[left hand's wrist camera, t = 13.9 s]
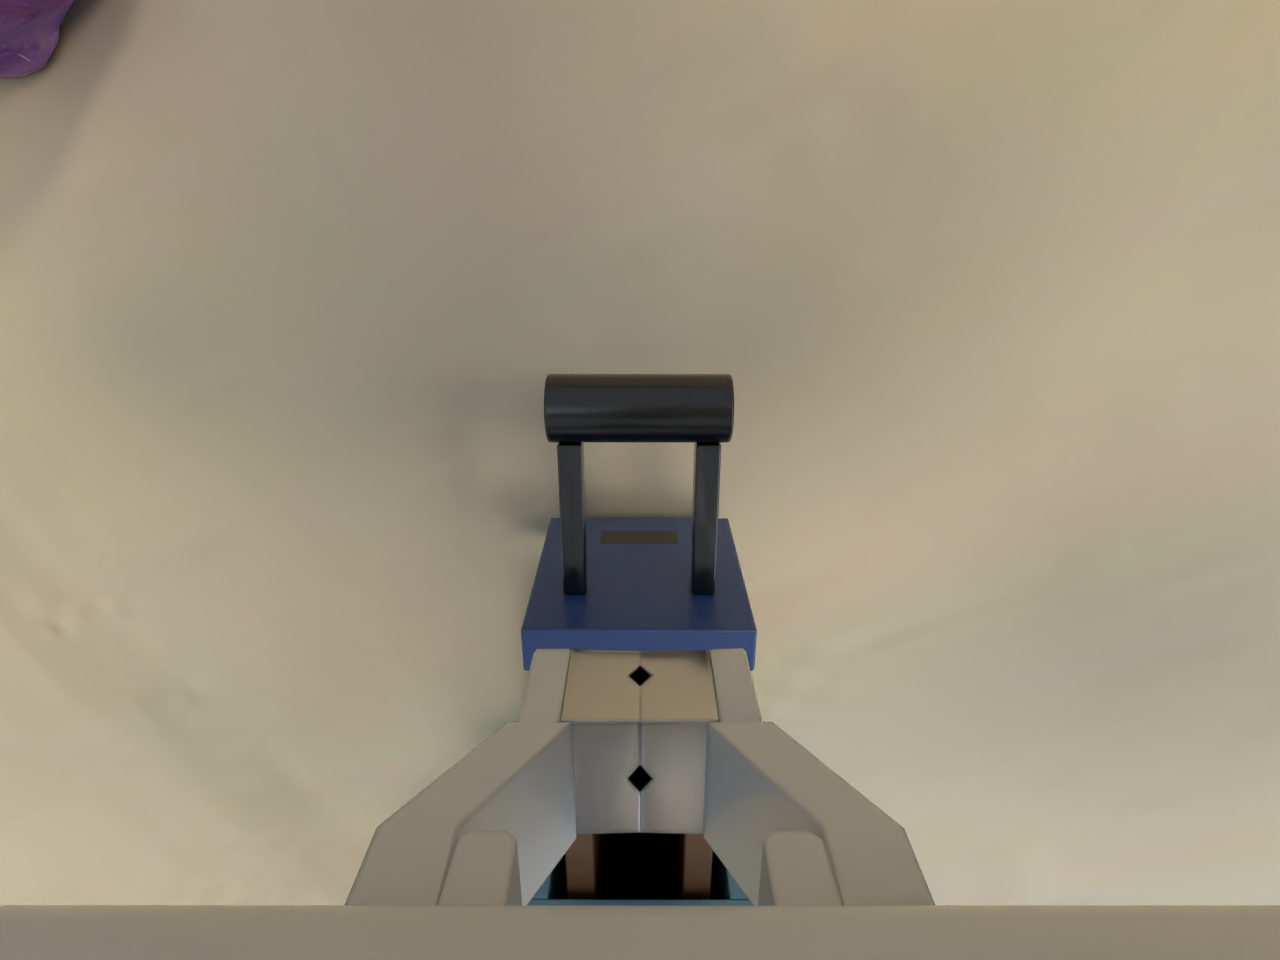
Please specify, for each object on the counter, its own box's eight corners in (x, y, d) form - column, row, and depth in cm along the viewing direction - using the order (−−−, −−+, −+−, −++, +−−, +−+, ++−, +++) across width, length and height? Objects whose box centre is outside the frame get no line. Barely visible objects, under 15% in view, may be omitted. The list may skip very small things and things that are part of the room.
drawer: (542, 337, 21) (504, 396, 15) (737, 337, 21) (773, 396, 15) (571, 944, 31) (554, 1125, 25) (707, 944, 31) (722, 1125, 25)
